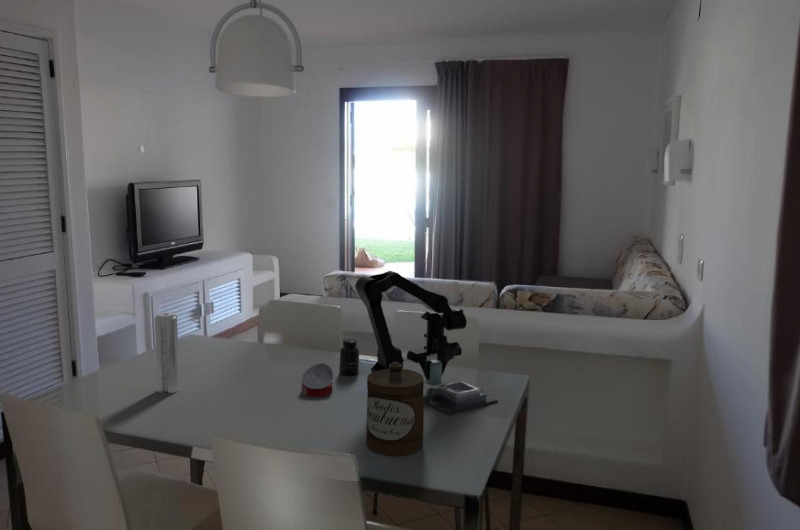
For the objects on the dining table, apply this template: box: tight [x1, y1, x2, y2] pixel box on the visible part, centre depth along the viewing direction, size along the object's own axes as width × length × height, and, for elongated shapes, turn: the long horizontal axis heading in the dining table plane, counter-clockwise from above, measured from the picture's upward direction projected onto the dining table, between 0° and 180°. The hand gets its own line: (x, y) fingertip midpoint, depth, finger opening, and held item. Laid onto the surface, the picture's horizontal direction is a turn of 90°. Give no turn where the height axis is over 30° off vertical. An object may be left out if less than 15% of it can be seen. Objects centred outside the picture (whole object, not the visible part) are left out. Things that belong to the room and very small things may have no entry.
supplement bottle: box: [338, 338, 360, 377], centre depth 214 cm, size 7×7×12 cm
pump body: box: [425, 359, 443, 386], centre depth 201 cm, size 5×5×7 cm
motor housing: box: [423, 380, 499, 416], centre depth 190 cm, size 20×14×4 cm
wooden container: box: [365, 362, 425, 457], centre depth 158 cm, size 15×15×22 cm
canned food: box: [301, 363, 334, 398], centre depth 196 cm, size 11×10×10 cm
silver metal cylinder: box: [154, 312, 180, 395], centre depth 193 cm, size 6×6×25 cm
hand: (433, 378), depth 201 cm, fingers closed on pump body, 5 cm apart
